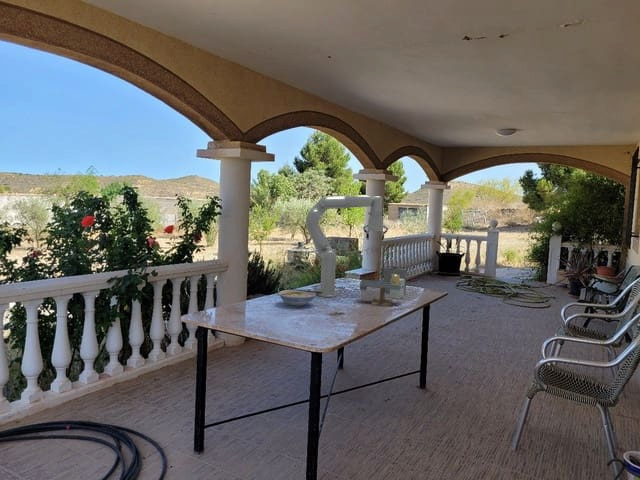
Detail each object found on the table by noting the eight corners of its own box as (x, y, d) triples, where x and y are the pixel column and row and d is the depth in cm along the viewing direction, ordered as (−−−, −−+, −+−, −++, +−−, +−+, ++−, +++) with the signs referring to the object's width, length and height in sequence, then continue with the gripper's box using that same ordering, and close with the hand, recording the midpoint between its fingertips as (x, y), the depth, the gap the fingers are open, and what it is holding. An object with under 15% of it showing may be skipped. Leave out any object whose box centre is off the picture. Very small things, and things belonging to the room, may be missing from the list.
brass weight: (390, 285, 289) (391, 274, 288) (391, 284, 294) (391, 273, 293) (399, 286, 288) (399, 275, 287) (399, 285, 293) (399, 274, 292)
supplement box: (399, 299, 307) (399, 280, 306) (389, 297, 311) (389, 278, 310) (404, 297, 312) (405, 279, 311) (394, 296, 317) (395, 277, 316)
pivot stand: (371, 305, 285) (372, 287, 284) (373, 299, 303) (373, 282, 302) (391, 306, 283) (392, 288, 282) (391, 300, 300) (392, 283, 300)
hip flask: (405, 293, 326) (407, 265, 324) (404, 294, 322) (406, 266, 321) (383, 291, 332) (384, 264, 330) (382, 292, 328) (383, 264, 326)
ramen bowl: (269, 305, 275) (269, 292, 275) (289, 299, 295) (289, 286, 295) (305, 311, 264) (306, 297, 263) (324, 304, 284) (324, 291, 283)
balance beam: (359, 290, 289) (360, 281, 289) (360, 287, 299) (361, 279, 299) (399, 294, 285) (400, 285, 285) (399, 291, 295) (400, 283, 295)
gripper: (362, 214, 308) (361, 239, 309) (389, 215, 305) (387, 240, 306) (363, 213, 315) (362, 238, 317) (389, 214, 312) (388, 240, 314)
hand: (375, 239), depth 311 cm, fingers open, 9 cm apart
